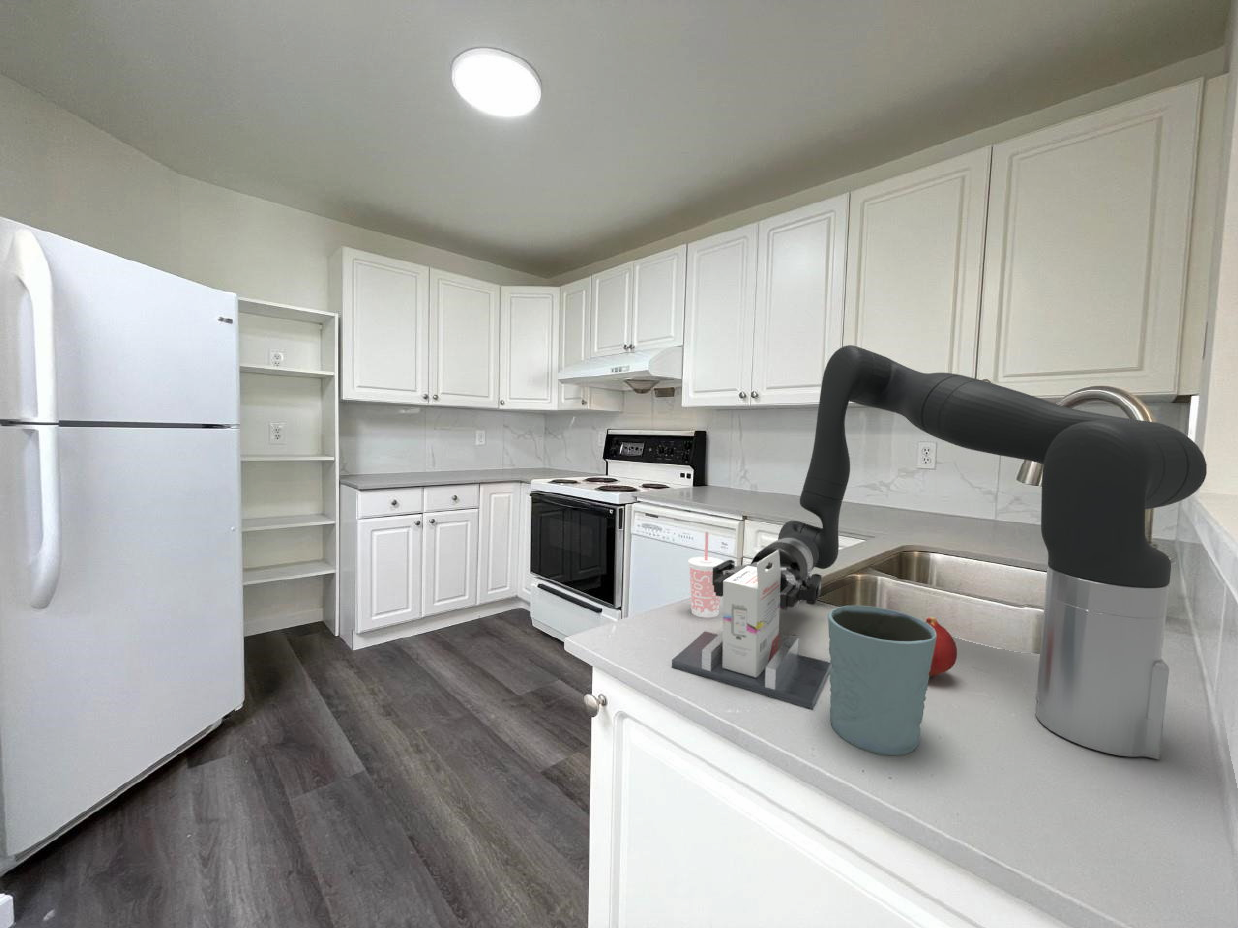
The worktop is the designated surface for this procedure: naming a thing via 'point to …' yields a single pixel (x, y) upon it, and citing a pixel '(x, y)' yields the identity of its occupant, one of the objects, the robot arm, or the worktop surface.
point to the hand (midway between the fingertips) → (749, 595)
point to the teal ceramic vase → (879, 677)
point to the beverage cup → (703, 584)
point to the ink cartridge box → (751, 617)
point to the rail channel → (779, 679)
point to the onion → (942, 649)
